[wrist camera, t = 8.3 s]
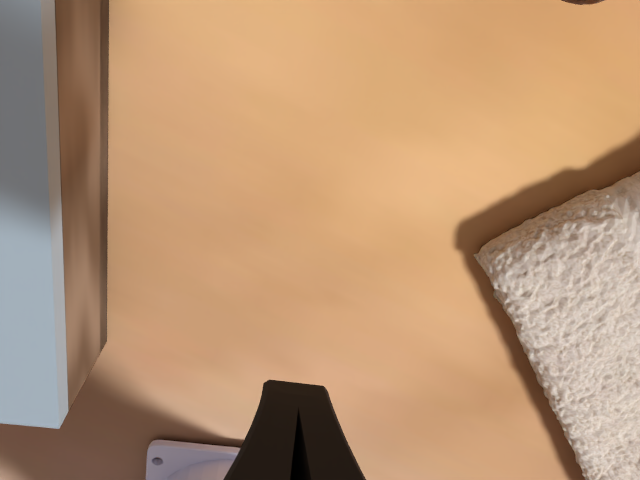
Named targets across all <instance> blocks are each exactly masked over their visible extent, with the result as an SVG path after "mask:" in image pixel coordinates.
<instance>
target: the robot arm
mask: <svg viewBox="0 0 640 480" xmlns="http://www.w3.org/2000/svg"><path fill="white" fill-rule="evenodd" d="M156 457H159V458H161V459H159V458H156ZM146 480H366V479H365V477H364V475H363V473H362V471H361V469H360V467H359V465H358V463H357V461H356V459H355V457H354V455H353V453H352V451H351V449H350V447H349V445H348V442H347V440H346V438H345V436H344V433H343V431H342V429H341V426H340V424H339V422H338V419H337V417H336V414H335V411H334V409H333V406H332V403H331V400H330V397H329V394H328V391H327V390H326V388H325V387H324V386H319V385H310V384H302V383H293V382H285V381H276V380H268V381H267V382H265V383H264V385H263V391H262V396H261V400H260V403H259V407H258V409H257V412H256V415H255V417H254V420H253V422H252V425H251V427H250V429H249V431H248V433H247V436H246V438H245V440H244V442H243V444H242V446H241V448H237V447H227V446H217V445H208V444H198V443H188V442H178V441H169V440H154V441H152V442H151V443H150V445H149V447H148V451H147V464H146Z"/></svg>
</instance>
